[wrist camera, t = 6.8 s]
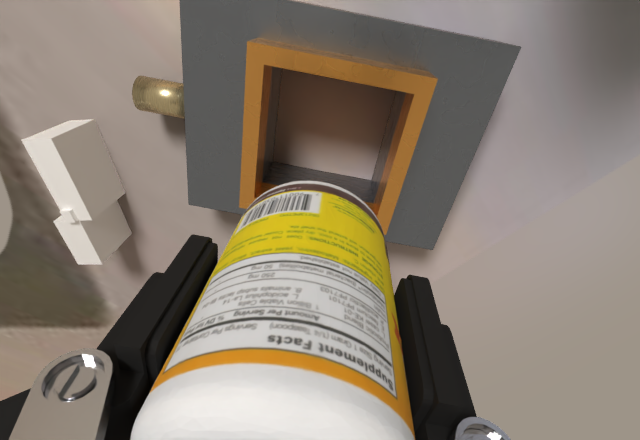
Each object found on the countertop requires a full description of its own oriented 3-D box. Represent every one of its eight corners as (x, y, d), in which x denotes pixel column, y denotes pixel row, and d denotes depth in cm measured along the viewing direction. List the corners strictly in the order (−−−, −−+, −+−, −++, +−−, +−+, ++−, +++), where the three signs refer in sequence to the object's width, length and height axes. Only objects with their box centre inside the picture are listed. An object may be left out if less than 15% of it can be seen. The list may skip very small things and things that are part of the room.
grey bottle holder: (496, 41, 23) (541, 51, 18) (423, 223, 31) (439, 269, 26) (144, -30, 23) (78, -42, 17) (162, 174, 31) (120, 211, 25)
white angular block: (56, 77, 27) (-7, 93, 23) (187, 156, 30) (156, 184, 25) (28, 208, 35) (-24, 241, 30) (136, 262, 37) (104, 300, 32)
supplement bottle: (332, 310, 15) (303, 712, 7) (219, 251, 14) (-1, 651, 5) (417, 225, 13) (560, 716, 4) (287, 142, 11) (65, 595, 3)
